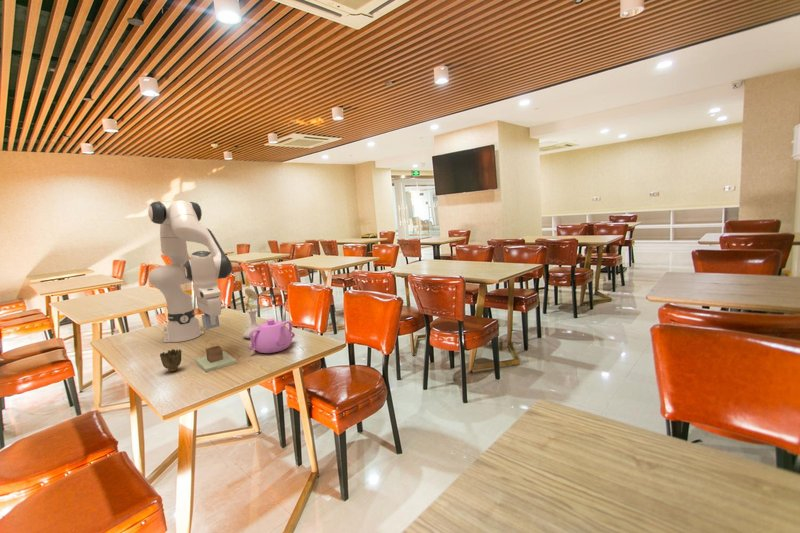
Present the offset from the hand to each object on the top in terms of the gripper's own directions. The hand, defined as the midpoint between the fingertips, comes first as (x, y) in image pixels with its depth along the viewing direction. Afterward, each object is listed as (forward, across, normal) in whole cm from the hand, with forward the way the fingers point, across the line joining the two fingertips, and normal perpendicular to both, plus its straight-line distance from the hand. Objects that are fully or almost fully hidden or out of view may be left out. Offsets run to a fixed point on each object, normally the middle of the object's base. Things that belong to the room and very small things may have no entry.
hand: (210, 323), depth 155 cm
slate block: (+2, 0, 0) cm, 2 cm away
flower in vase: (+18, -22, +25) cm, 38 cm away
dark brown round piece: (+17, -4, -15) cm, 23 cm away
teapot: (+18, +6, +24) cm, 30 cm away
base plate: (+17, 0, 0) cm, 17 cm away
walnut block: (+16, 0, 0) cm, 16 cm away
